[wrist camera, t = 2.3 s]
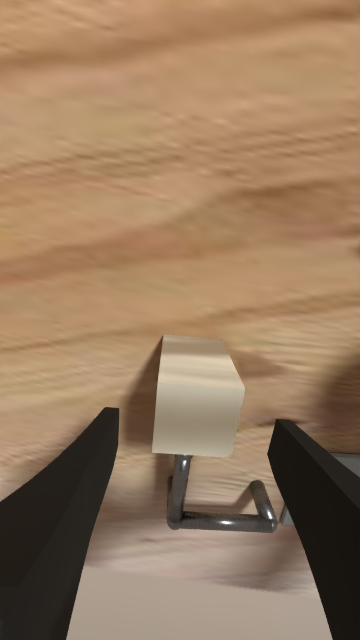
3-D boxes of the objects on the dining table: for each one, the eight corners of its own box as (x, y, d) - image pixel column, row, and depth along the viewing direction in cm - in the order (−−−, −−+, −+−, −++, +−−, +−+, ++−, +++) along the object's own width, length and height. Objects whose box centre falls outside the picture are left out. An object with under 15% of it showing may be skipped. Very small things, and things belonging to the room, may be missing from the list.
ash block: (163, 334, 17) (157, 382, 11) (221, 339, 17) (245, 389, 11) (159, 385, 18) (151, 452, 12) (213, 389, 18) (230, 457, 13)
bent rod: (175, 414, 19) (175, 453, 15) (280, 422, 19) (304, 461, 16) (167, 485, 21) (165, 533, 18) (262, 491, 21) (278, 539, 18)
